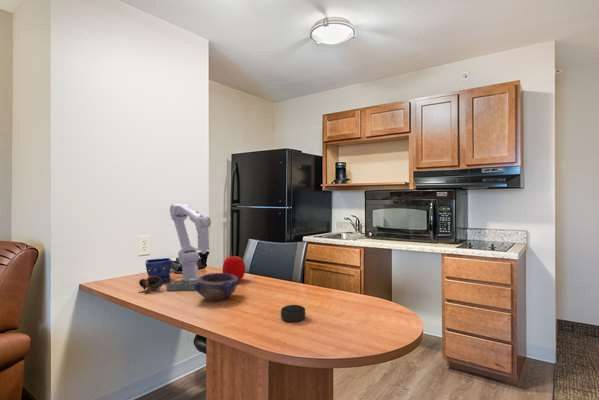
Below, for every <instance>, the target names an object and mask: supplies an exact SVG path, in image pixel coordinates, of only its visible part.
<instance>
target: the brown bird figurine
mask: <svg viewBox="0 0 599 400" xmlns="http://www.w3.org/2000/svg"><path fill="white" fill-rule="evenodd" d="M148 280H149V281H148ZM157 280H160V282H159V283H156V282H157ZM138 284H139V285H140V287H142V288H143V290H146V292H147V293H148V294H151V292H155V291H157V290H159V289H160V288H161V287H162V286H164V282H162V279H161V278H160V277H158V276H150V277H149V276H147V278H146V279H145V278H141V279H139V281H138Z"/></svg>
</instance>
